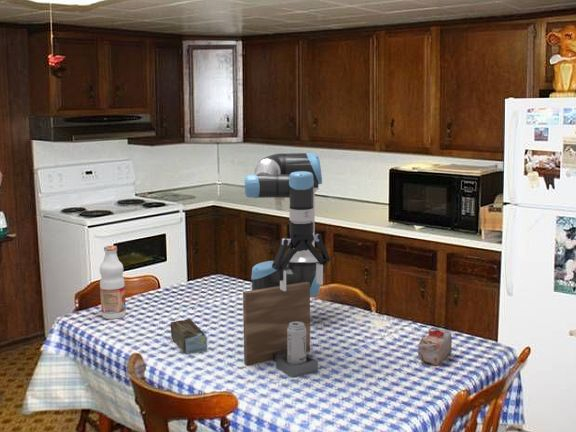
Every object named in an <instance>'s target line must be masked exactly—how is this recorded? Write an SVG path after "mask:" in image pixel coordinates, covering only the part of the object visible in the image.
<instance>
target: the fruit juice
mask: <svg viewBox="0 0 576 432" xmlns="http://www.w3.org/2000/svg"><path fill="white" fill-rule="evenodd" d="M103 251H104V253H105V254H104V258H103V260H102V262H101V264H100V265H99V274H100V281H99V290H100V291H99V292H100V312H101V317H102V318H103V319H106V320H115V319H121V318H124V317H125V316H126V313H127V310H126V309H127V307H126V305H127V304H126V287H125V285H126V284H125V278H124V275H123V274H124V265H123V263H122V262H121V261H120V260H119V257H118V253H117V251H118V247H117V245H106V246H104V248H103Z"/></svg>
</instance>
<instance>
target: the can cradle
mask: <svg viewBox="0 0 576 432" xmlns="http://www.w3.org/2000/svg"><path fill="white" fill-rule="evenodd" d="M272 361H274V362H275V368H276V369H278V370H279V371H281V372H283V373H284V374H285V375H287V376H288V377H290V378H295V377H299V376H304V375H307V374H312V373H316V372H318V370H319V367H318V362H319V361H318V360H317V359H316V358H314V357H312V356H310V355H309V354H307V353H306V362H304V363H299V364H295V365H292V364H290V363H289V362H287V350H283V351H278V352H273V360H272Z"/></svg>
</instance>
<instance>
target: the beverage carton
mask: <svg viewBox="0 0 576 432" xmlns="http://www.w3.org/2000/svg"><path fill="white" fill-rule="evenodd" d="M170 333H171V334H170V336H171V339H172V340H173V341H174V343H176V344H177V345H178V347H179V346H180V347H179V348H180V349H181V350H182V351H183V352H184V354H185V355H191V353H192V354H196V353H197V352H198V353H203V351H204V352H207V351H208V341H207V335H206V334H205V333H204V332H203V330H202V329H201V328H200V327H199V326H198V325H197V324H196V323H195V322H194V321H193V320H191V318H189V319H184V320H183V319H181V320H177V321H170ZM198 353H197V354H198Z"/></svg>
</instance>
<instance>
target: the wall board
mask: <svg viewBox="0 0 576 432" xmlns="http://www.w3.org/2000/svg"><path fill="white" fill-rule="evenodd" d="M242 306H243V310H242V311H243V312H242V313H243V317H242V318H243V360H244V362H243V364H244V365H246V366H251V365H255V364H260V363H264V362H270V361H274V360H273V352H278V351H283V350H287V328H288V326H289V323H291V322H296V321H297V322H303V323H304V326H305V327H306V353H310V352H311V296H310V283H309V282H302V283H295V284H289V285H286V291H283V290H281V289H280V286H277V287H271V288H265V289H258V290H252V289H251V290H246V291H243V292H242Z"/></svg>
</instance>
